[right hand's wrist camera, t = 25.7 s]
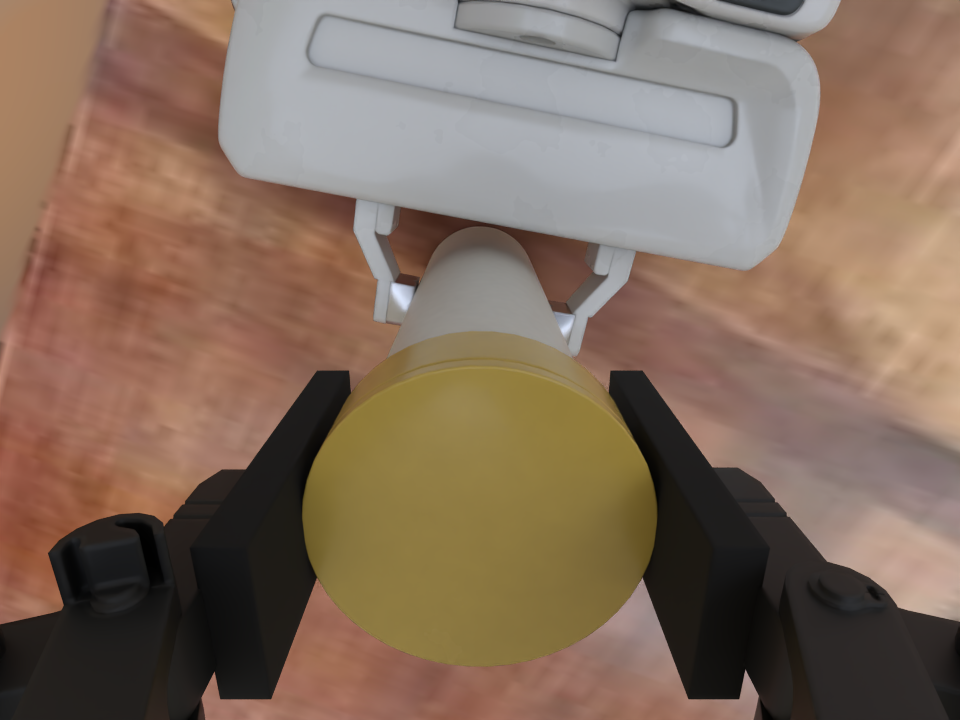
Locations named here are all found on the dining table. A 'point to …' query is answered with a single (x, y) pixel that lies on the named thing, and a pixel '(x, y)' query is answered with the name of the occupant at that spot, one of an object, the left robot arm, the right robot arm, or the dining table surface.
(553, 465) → the lid
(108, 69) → the dining table surface
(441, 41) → the left robot arm
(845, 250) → the dining table surface
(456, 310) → the jar
